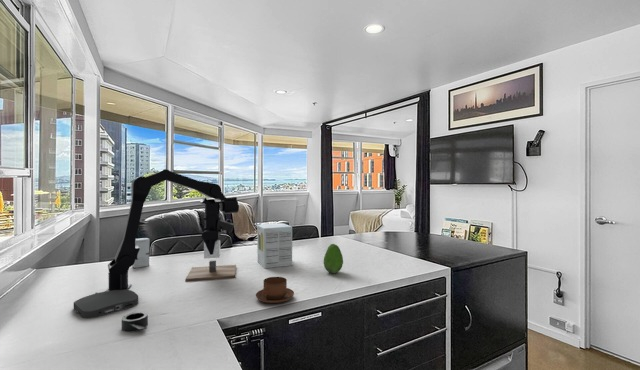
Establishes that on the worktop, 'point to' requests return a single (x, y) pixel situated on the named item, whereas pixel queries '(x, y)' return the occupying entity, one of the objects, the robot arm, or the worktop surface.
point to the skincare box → (142, 252)
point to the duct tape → (134, 321)
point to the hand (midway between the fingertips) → (212, 252)
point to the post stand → (211, 272)
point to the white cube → (215, 254)
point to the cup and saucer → (275, 290)
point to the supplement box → (274, 245)
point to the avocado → (333, 259)
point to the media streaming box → (105, 303)
